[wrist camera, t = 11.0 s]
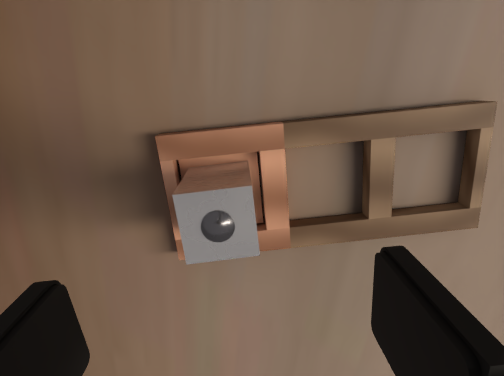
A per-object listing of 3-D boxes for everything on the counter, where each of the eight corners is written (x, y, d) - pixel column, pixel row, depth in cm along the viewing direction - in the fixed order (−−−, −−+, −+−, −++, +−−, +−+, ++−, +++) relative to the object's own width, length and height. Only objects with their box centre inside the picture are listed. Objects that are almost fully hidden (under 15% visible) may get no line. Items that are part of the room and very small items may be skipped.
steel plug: (189, 167, 25) (171, 195, 19) (247, 160, 25) (252, 185, 19) (198, 221, 27) (186, 265, 20) (254, 214, 27) (260, 256, 20)
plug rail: (159, 133, 25) (154, 136, 23) (482, 101, 25) (497, 101, 24) (182, 251, 28) (179, 260, 27) (465, 220, 28) (477, 227, 27)
